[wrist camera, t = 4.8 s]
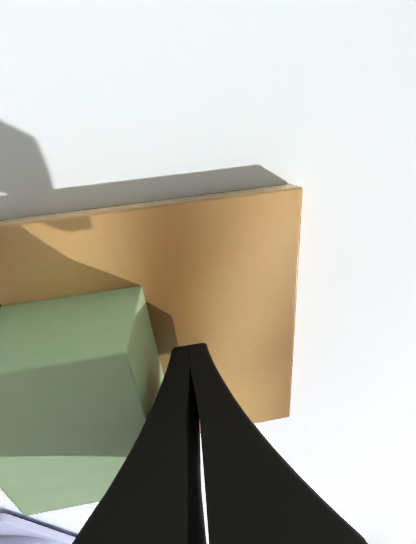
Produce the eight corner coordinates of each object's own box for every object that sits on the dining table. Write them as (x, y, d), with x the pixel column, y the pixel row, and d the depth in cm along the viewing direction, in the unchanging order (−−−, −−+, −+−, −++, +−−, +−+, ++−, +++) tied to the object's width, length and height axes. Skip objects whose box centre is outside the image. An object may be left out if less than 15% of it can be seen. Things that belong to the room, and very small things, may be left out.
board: (291, 183, 10) (303, 186, 9) (282, 401, 15) (290, 417, 14) (-313, 260, 8) (-372, 273, 7) (-86, 468, 14) (-104, 491, 13)
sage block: (142, 285, 9) (126, 353, 6) (170, 401, 12) (169, 488, 9) (0, 305, 9) (-91, 387, 6) (63, 420, 12) (24, 517, 9)
